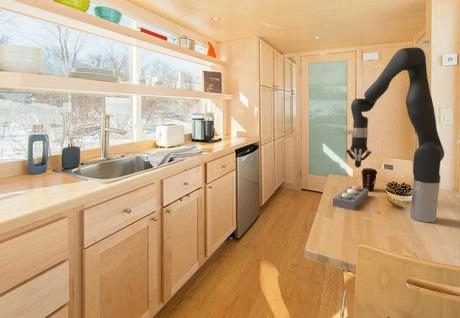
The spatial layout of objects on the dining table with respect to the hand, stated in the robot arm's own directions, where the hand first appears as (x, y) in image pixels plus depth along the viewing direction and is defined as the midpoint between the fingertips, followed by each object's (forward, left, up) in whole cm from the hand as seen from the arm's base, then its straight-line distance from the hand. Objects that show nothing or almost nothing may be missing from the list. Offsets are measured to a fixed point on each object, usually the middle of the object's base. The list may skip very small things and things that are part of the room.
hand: (357, 167), depth 148 cm
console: (0, +9, -17) cm, 19 cm away
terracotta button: (0, 0, -14) cm, 14 cm away
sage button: (0, +18, -14) cm, 22 cm away
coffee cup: (-2, -18, -17) cm, 25 cm away
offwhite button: (0, +9, -14) cm, 16 cm away
